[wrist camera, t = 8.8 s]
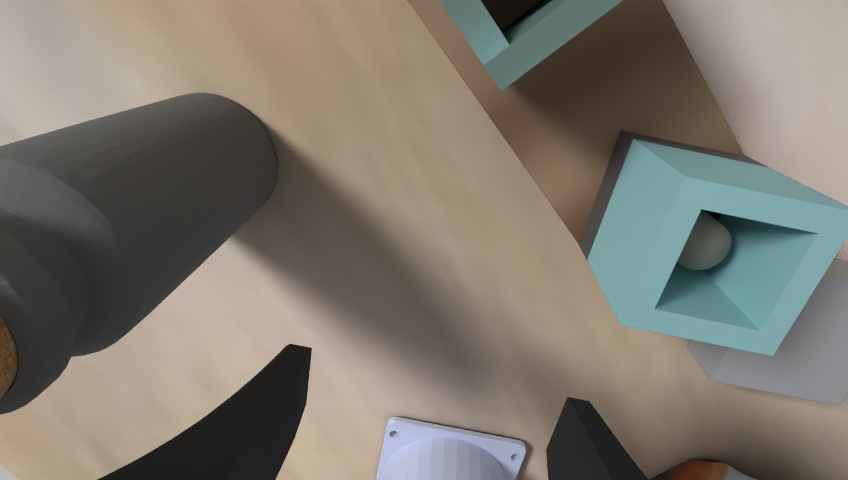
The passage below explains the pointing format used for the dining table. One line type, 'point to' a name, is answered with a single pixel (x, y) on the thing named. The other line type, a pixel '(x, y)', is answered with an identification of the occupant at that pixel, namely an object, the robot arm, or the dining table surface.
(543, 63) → the peg board
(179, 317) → the dining table surface
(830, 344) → the block
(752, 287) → the sleeve
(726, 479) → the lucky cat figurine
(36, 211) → the bottle
